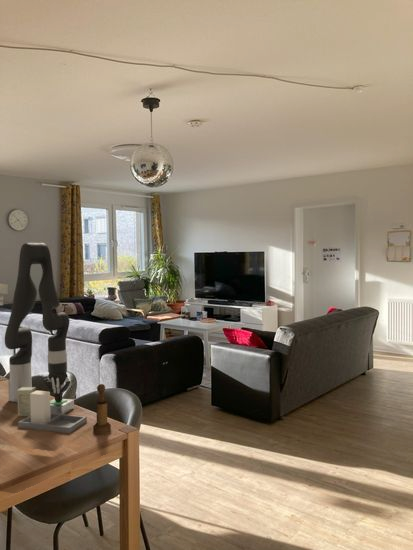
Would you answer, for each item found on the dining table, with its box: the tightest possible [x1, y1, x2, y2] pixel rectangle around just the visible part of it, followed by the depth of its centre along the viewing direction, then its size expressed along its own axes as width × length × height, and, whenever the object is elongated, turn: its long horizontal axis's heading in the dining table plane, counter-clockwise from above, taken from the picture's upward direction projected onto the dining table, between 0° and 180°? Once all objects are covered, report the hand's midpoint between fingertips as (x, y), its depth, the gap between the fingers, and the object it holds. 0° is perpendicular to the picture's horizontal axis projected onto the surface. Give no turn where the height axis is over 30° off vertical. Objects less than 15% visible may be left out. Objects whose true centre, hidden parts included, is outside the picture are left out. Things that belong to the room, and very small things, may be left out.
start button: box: [50, 400, 67, 405], centre depth 191 cm, size 5×5×3 cm
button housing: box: [50, 398, 75, 414], centre depth 191 cm, size 9×9×5 cm
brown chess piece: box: [92, 383, 112, 436], centre depth 171 cm, size 7×6×18 cm
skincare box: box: [17, 386, 37, 417], centre depth 187 cm, size 6×4×12 cm
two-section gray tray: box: [17, 413, 88, 434], centre depth 175 cm, size 22×12×4 cm, turn 74°
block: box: [30, 390, 51, 424], centre depth 177 cm, size 6×4×12 cm, turn 74°
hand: (58, 401), depth 190 cm, fingers closed
